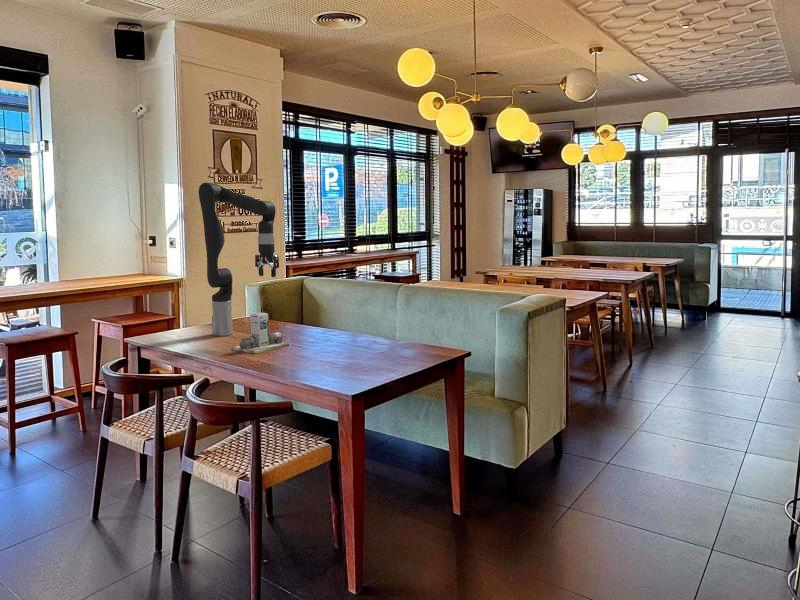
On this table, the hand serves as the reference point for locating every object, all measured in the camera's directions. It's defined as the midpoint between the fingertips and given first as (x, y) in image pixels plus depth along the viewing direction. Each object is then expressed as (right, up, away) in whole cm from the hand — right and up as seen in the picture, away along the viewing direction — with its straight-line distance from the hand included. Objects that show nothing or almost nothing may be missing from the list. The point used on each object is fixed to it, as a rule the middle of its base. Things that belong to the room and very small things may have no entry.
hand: (267, 276), depth 302 cm
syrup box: (+1, -32, -18) cm, 37 cm away
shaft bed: (+1, -33, -18) cm, 38 cm away
